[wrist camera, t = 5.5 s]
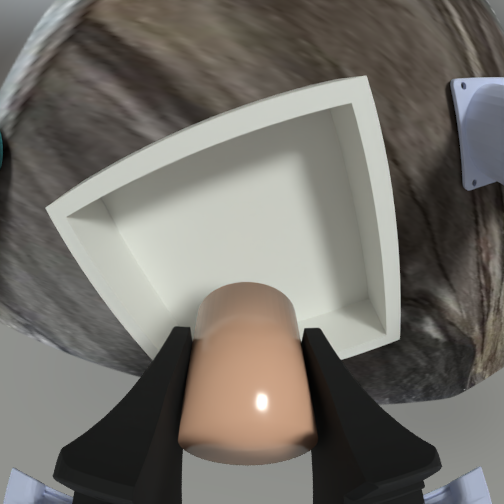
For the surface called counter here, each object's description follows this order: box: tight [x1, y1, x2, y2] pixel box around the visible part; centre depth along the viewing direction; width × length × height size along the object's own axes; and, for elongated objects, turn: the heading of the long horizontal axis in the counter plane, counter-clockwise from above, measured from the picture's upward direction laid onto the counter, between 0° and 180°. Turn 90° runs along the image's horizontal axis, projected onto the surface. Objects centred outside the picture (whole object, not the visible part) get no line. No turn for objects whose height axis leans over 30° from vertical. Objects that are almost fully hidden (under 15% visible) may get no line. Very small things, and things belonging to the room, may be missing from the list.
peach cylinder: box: [178, 282, 318, 465], centre depth 10 cm, size 4×4×6 cm
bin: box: [46, 76, 401, 360], centre depth 16 cm, size 16×16×5 cm
